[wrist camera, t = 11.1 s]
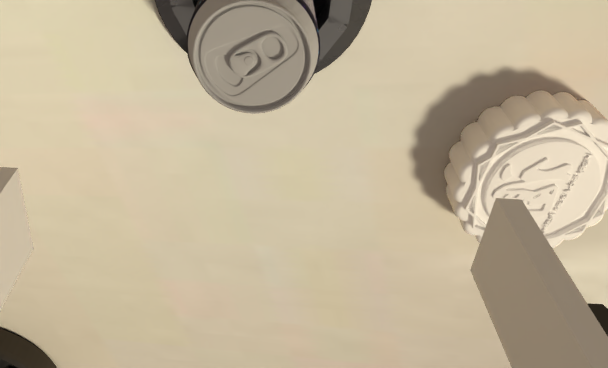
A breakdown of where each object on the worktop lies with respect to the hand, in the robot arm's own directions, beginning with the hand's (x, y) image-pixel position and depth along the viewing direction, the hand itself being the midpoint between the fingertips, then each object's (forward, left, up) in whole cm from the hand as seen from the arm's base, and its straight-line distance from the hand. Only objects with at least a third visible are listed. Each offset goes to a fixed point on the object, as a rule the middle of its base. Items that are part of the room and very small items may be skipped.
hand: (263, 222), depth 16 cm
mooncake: (+19, -10, -22) cm, 31 cm away
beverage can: (-1, +1, -22) cm, 22 cm away
